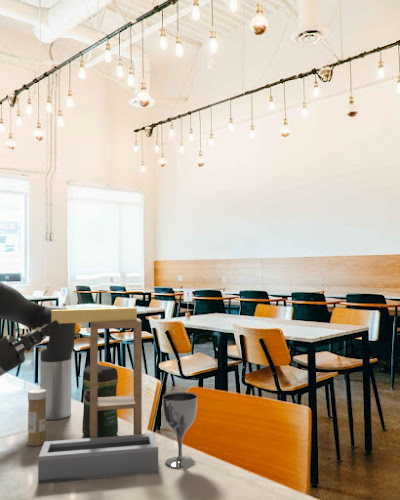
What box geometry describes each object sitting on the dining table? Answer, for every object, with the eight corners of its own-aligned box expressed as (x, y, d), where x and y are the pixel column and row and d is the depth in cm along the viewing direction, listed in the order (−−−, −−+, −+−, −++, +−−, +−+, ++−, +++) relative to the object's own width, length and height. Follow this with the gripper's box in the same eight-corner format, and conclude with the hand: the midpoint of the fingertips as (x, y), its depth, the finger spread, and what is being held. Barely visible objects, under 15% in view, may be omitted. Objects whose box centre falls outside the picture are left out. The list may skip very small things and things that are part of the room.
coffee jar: (123, 434, 122) (123, 365, 123) (99, 442, 116) (99, 370, 117) (101, 426, 128) (101, 361, 129) (77, 434, 122) (77, 365, 123)
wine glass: (184, 472, 98) (184, 402, 99) (155, 465, 102) (155, 397, 103) (203, 460, 105) (203, 394, 105) (176, 453, 109) (175, 390, 110)
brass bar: (51, 322, 107) (51, 309, 108) (134, 319, 114) (134, 307, 114) (51, 323, 105) (51, 310, 105) (136, 320, 111) (136, 308, 111)
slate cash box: (44, 466, 102) (44, 441, 102) (154, 456, 107) (154, 433, 107) (38, 483, 93) (38, 456, 94) (158, 472, 98) (158, 446, 98)
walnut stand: (91, 448, 112) (91, 319, 114) (139, 444, 114) (139, 318, 116) (89, 461, 104) (90, 322, 106) (141, 457, 107) (141, 321, 108)
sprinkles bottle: (48, 444, 116) (48, 390, 116) (29, 447, 113) (30, 393, 114) (43, 438, 119) (44, 387, 120) (25, 442, 117) (26, 389, 118)
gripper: (-19, 350, 98) (48, 311, 101) (-3, 340, 112) (56, 306, 115) (-1, 379, 99) (66, 339, 102) (13, 366, 113) (71, 331, 116)
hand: (61, 322), depth 109 cm, fingers open, 8 cm apart
